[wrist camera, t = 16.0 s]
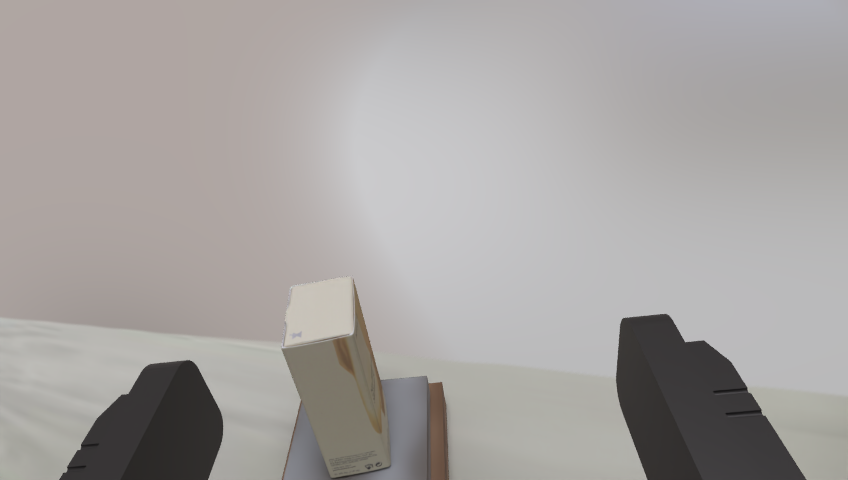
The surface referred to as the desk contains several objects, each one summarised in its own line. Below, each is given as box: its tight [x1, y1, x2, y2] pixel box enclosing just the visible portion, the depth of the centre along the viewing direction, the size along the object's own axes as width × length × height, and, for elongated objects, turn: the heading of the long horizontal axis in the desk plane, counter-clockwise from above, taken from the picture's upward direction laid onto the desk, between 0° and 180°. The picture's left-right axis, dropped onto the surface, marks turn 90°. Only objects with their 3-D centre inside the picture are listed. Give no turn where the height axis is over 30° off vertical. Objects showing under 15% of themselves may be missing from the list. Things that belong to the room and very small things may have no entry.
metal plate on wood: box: [282, 376, 449, 480], centre depth 41 cm, size 12×12×5 cm
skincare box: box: [281, 276, 391, 478], centre depth 36 cm, size 6×4×12 cm
